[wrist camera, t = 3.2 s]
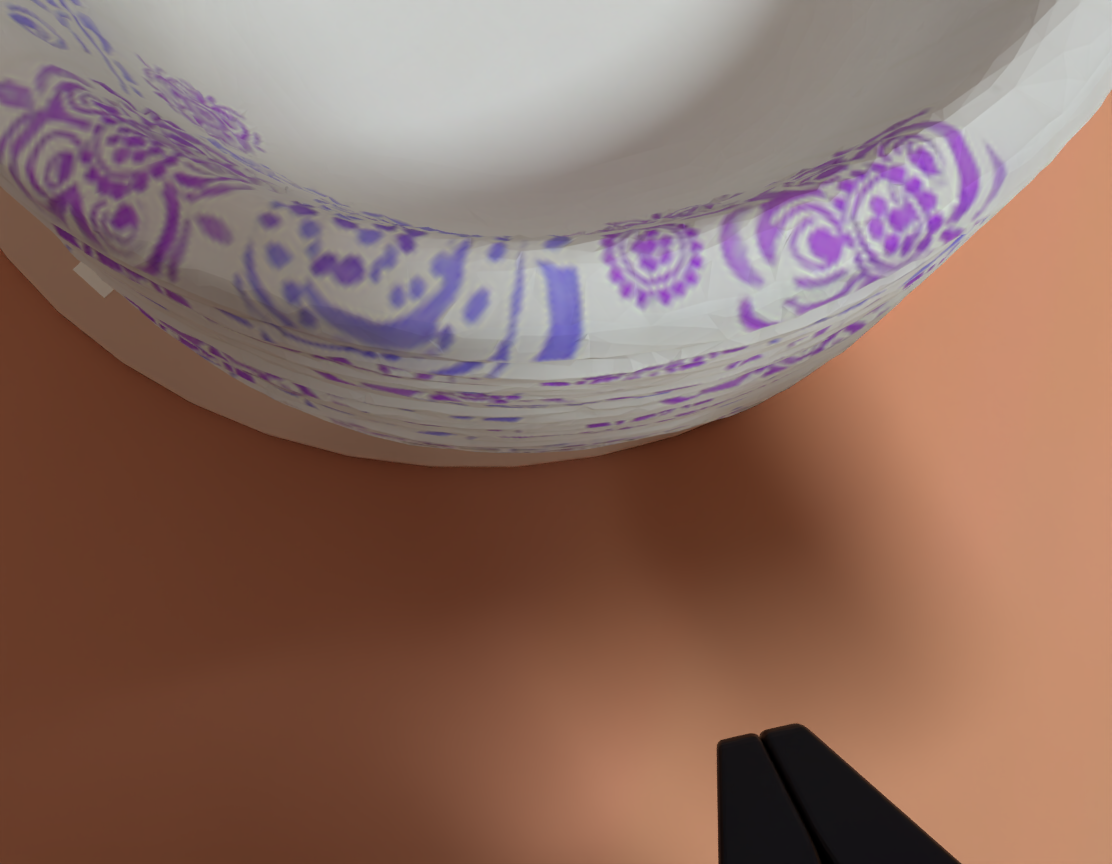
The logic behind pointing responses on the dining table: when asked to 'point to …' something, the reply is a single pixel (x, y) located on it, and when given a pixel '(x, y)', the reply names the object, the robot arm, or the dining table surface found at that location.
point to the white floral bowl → (531, 188)
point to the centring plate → (197, 378)
